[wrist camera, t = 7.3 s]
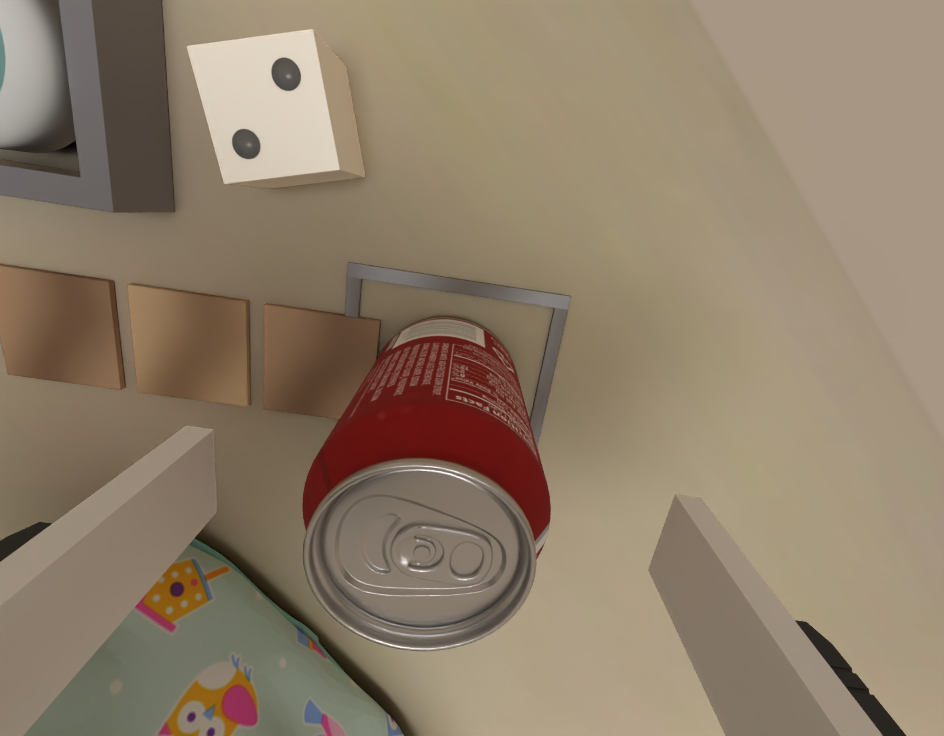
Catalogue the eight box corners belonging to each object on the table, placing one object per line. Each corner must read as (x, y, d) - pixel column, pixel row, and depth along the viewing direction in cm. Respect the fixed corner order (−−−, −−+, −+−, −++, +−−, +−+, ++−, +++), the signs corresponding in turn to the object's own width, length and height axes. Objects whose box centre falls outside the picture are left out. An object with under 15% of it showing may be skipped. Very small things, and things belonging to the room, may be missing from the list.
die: (272, 188, 19) (223, 183, 15) (246, 80, 18) (185, 45, 14) (366, 177, 19) (339, 169, 15) (346, 67, 18) (311, 28, 14)
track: (22, 417, 23) (16, 419, 22) (-19, 206, 19) (-26, 206, 19) (528, 483, 24) (528, 486, 24) (570, 295, 21) (571, 297, 20)
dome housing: (-47, 177, 19) (-156, 170, 16) (-104, -97, 16) (-254, -176, 13) (174, 211, 19) (113, 212, 16) (158, -49, 16) (79, -113, 13)
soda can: (388, 299, 21) (286, 410, 9) (531, 330, 21) (601, 470, 10) (367, 430, 23) (265, 647, 12) (498, 454, 23) (523, 687, 12)
